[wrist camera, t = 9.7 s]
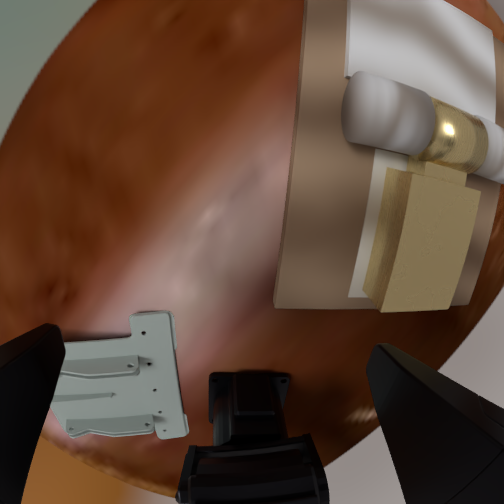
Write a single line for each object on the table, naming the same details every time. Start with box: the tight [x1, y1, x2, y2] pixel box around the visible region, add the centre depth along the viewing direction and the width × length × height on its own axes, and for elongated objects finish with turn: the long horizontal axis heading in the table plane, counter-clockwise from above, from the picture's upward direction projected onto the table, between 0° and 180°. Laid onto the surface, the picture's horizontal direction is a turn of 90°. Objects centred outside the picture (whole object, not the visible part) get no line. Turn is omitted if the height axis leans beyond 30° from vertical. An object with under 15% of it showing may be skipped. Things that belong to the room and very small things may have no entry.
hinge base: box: [273, 0, 504, 309], centre depth 15 cm, size 24×18×5 cm
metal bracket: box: [50, 311, 189, 439], centre depth 22 cm, size 14×6×15 cm
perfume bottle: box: [362, 96, 489, 312], centre depth 16 cm, size 13×6×4 cm, turn 174°
